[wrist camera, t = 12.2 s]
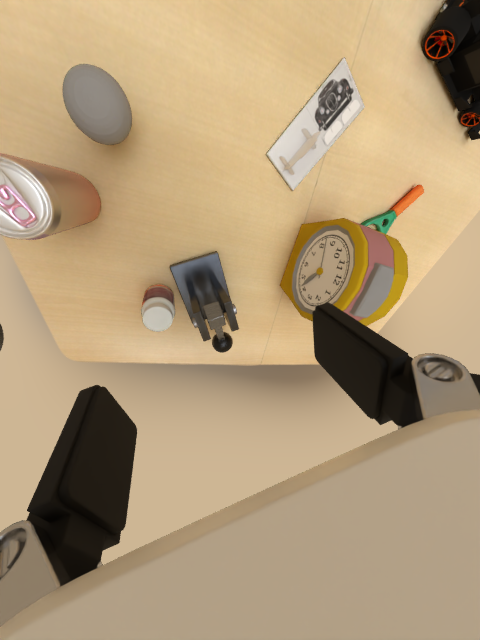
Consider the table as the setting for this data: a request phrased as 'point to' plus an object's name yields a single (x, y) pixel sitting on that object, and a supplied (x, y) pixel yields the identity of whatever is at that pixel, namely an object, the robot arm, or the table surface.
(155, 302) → the pill bottle
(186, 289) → the switch bracket
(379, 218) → the magnifying glass
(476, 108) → the toy race car
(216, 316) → the switch lever
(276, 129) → the table surface
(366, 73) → the table surface
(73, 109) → the light bulb
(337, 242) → the alarm clock
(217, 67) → the table surface
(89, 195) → the beverage can
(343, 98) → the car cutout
